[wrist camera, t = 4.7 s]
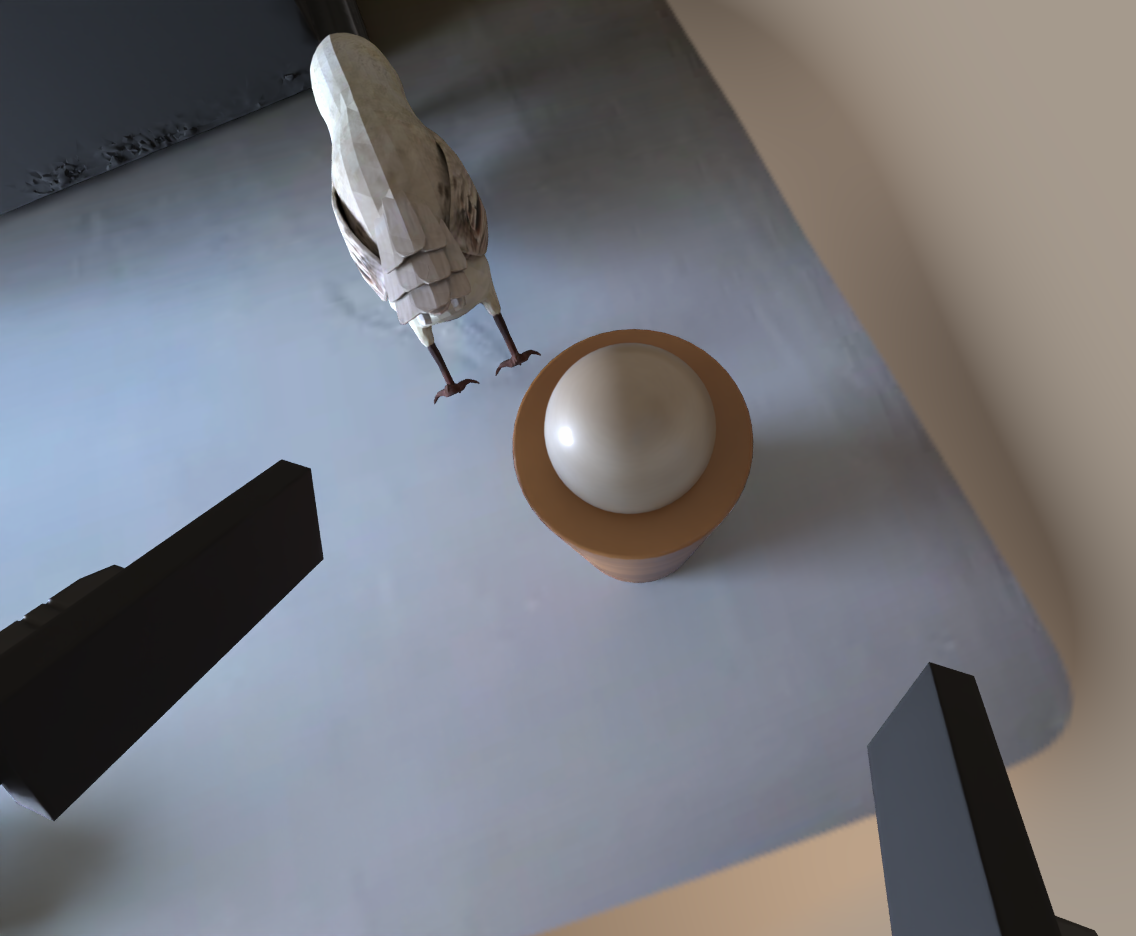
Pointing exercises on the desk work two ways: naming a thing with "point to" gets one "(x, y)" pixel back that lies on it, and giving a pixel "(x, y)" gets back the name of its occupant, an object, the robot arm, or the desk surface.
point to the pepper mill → (633, 450)
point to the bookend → (141, 77)
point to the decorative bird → (403, 198)
